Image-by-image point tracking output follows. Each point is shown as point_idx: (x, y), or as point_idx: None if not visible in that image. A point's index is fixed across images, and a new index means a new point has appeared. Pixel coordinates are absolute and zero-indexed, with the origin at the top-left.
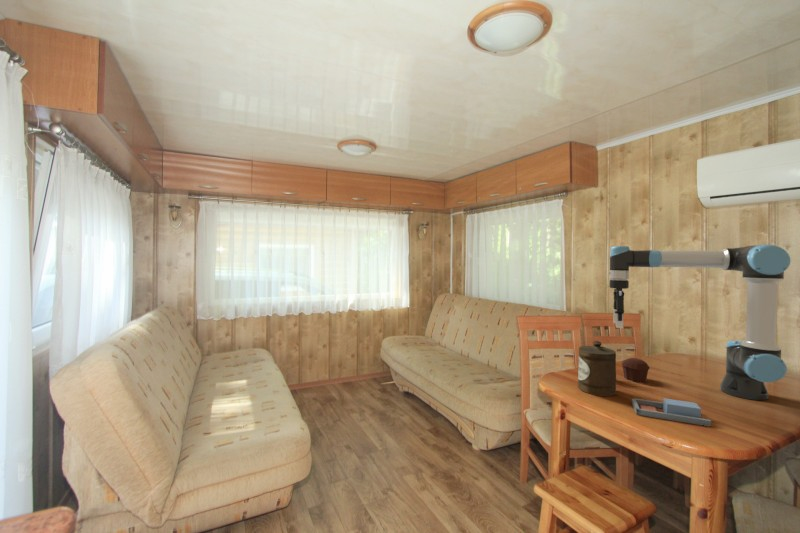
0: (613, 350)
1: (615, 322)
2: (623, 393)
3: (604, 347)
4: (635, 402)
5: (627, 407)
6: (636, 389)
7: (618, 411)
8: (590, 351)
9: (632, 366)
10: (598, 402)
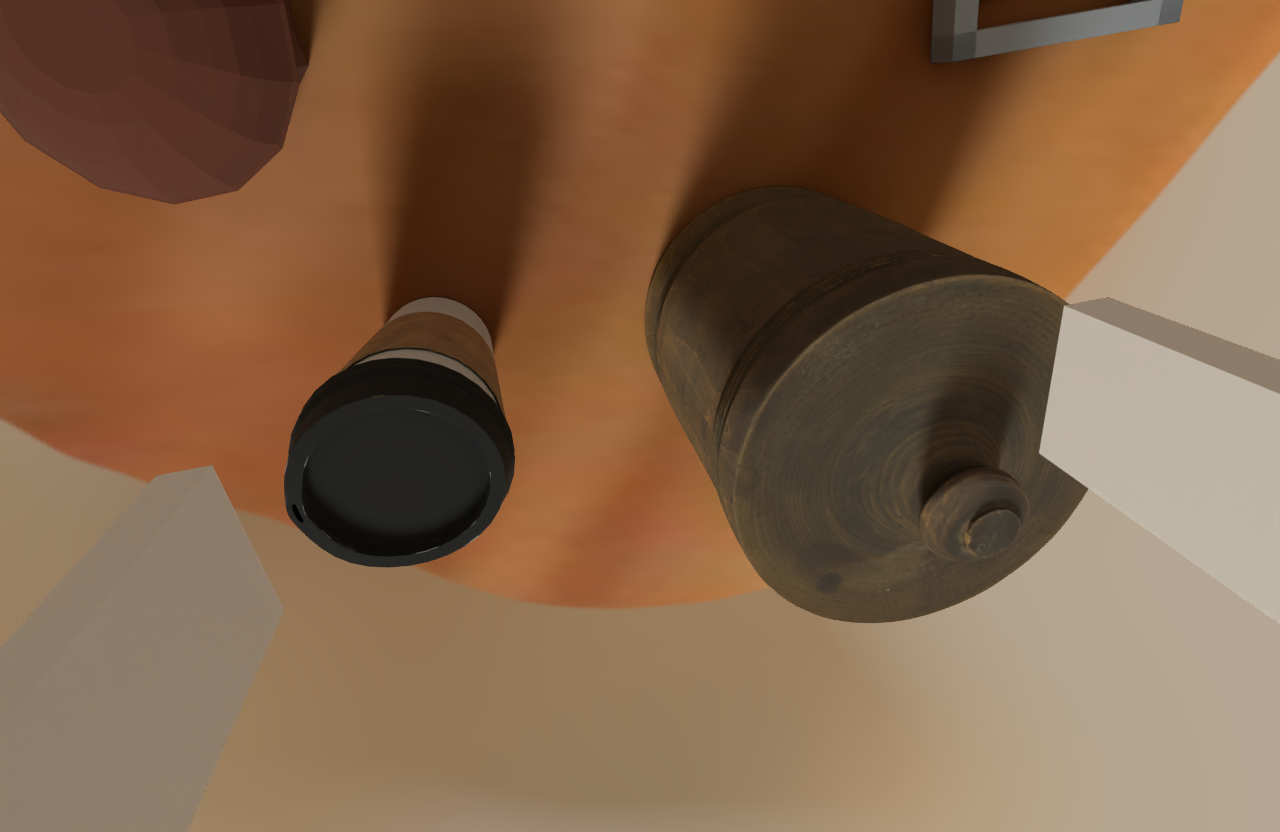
0: (880, 310)
1: (255, 585)
2: (741, 130)
3: (310, 444)
4: (1045, 30)
5: (1034, 87)
6: (563, 26)
7: (1122, 140)
8: (1047, 505)
9: (274, 67)
10: (1007, 267)
